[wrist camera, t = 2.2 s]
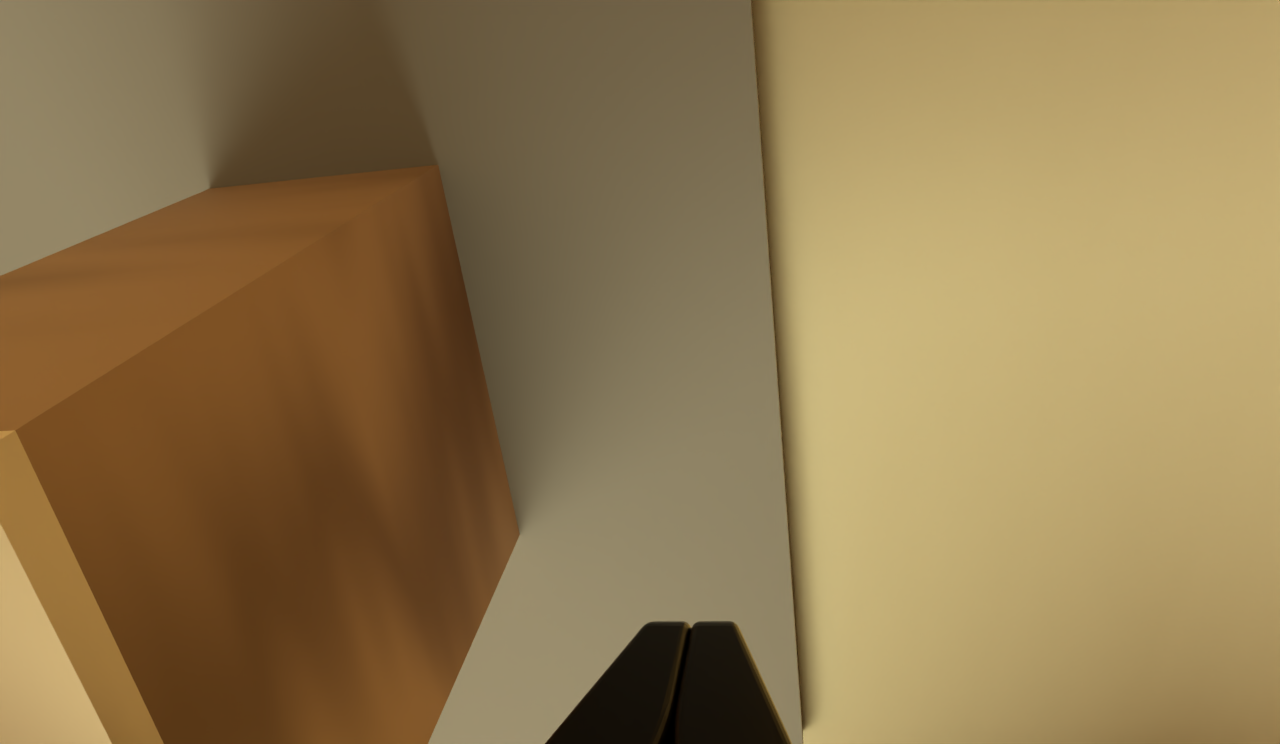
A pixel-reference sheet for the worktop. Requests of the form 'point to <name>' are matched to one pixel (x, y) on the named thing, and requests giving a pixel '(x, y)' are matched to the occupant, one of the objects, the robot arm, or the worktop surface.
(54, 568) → the block
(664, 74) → the mat
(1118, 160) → the worktop surface
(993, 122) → the worktop surface
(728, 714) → the robot arm
